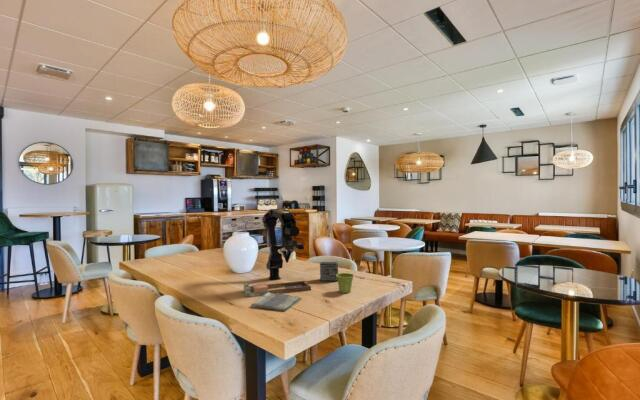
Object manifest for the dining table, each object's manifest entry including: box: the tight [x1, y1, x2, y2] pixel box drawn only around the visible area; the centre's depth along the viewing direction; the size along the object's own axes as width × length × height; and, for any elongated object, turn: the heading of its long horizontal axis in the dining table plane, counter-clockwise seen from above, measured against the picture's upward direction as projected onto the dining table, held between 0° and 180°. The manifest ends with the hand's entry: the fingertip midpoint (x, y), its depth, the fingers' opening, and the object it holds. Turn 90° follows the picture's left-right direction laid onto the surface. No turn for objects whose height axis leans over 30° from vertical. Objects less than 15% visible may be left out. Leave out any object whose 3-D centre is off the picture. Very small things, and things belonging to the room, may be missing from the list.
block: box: [251, 283, 269, 292], centre depth 166 cm, size 7×7×4 cm
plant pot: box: [336, 272, 355, 294], centre depth 166 cm, size 9×9×9 cm
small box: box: [319, 261, 339, 283], centre depth 189 cm, size 11×6×10 cm, turn 84°
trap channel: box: [243, 280, 312, 298], centre depth 170 cm, size 12×34×4 cm, turn 109°
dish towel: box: [250, 292, 302, 313], centre depth 150 cm, size 19×18×3 cm
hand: (287, 262), depth 179 cm, fingers closed
